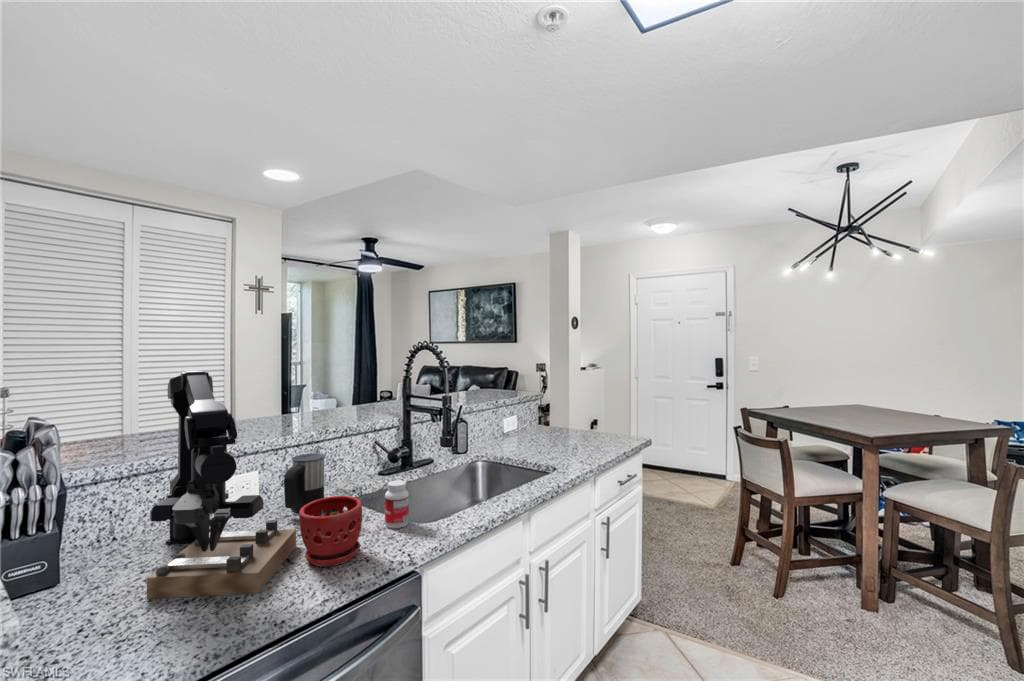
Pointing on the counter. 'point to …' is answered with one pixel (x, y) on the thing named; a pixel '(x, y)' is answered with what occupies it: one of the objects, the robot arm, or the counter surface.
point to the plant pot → (331, 530)
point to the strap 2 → (241, 535)
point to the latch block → (225, 579)
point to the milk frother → (304, 481)
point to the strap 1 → (202, 562)
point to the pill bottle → (396, 505)
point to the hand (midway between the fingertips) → (208, 550)
